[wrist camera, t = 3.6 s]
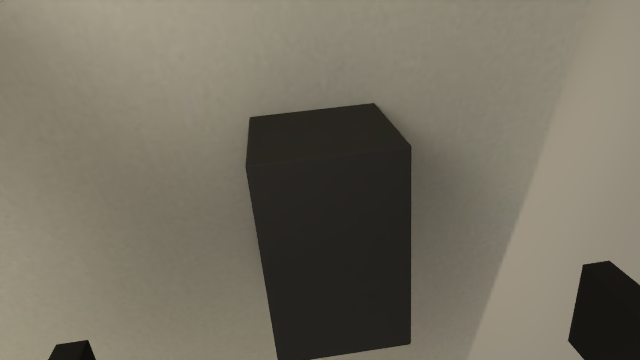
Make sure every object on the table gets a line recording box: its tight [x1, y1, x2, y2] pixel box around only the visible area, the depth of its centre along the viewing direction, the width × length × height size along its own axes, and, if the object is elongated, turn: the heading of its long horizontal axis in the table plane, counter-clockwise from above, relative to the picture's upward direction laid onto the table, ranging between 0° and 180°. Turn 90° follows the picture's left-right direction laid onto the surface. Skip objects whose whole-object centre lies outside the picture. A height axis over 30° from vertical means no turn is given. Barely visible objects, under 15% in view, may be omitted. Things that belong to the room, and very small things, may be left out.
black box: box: [246, 103, 411, 360], centre depth 17 cm, size 5×8×5 cm, turn 5°
